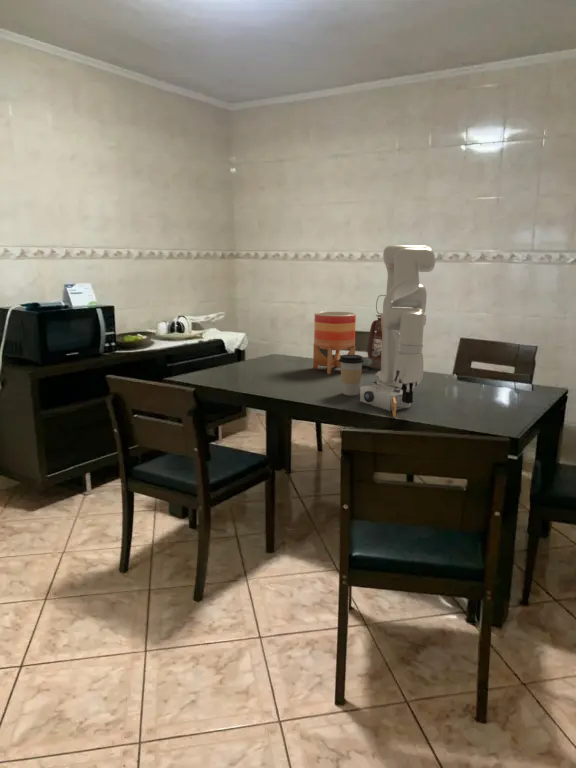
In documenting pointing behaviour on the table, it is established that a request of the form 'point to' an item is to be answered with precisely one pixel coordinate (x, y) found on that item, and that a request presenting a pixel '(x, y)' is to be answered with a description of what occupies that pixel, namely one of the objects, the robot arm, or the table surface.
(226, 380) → the table surface
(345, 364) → the coffee cup
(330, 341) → the planter
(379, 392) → the camera case
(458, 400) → the table surface
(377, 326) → the lantern
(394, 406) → the side door
